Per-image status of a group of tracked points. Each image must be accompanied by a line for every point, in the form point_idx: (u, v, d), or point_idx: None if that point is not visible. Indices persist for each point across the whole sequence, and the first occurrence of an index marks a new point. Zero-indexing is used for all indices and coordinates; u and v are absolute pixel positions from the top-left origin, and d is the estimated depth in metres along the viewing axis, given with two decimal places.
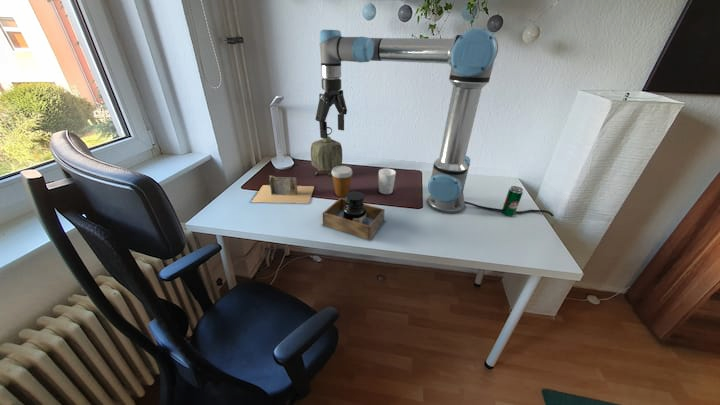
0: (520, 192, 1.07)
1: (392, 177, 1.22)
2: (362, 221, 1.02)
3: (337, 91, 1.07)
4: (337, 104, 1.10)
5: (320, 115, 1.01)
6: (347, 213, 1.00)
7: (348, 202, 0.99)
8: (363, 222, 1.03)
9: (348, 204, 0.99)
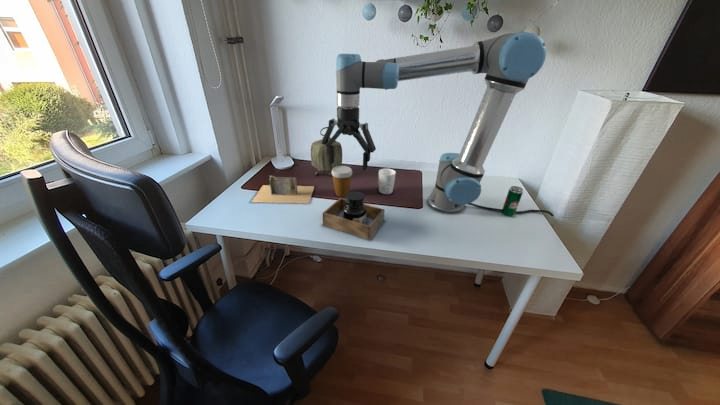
0: (520, 192, 1.07)
1: (392, 177, 1.22)
2: (362, 221, 1.02)
3: (353, 123, 0.91)
4: None
5: None
6: (347, 213, 1.00)
7: (348, 202, 0.99)
8: (363, 222, 1.03)
9: (348, 204, 0.99)
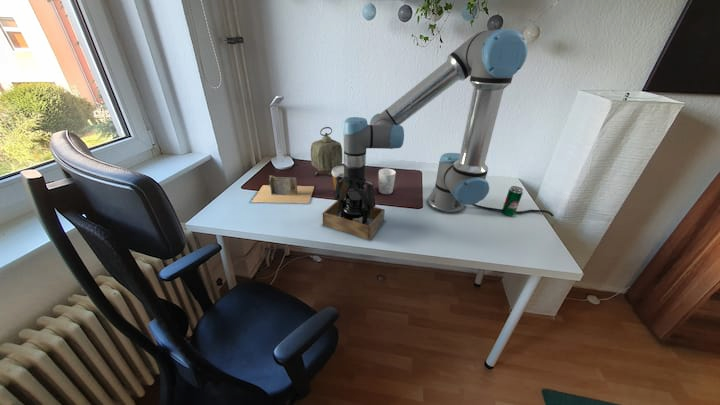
0: (520, 192, 1.07)
1: (392, 177, 1.22)
2: (362, 221, 1.02)
3: (359, 180, 0.94)
4: None
5: None
6: (347, 213, 1.00)
7: (348, 202, 0.99)
8: None
9: (348, 204, 0.99)
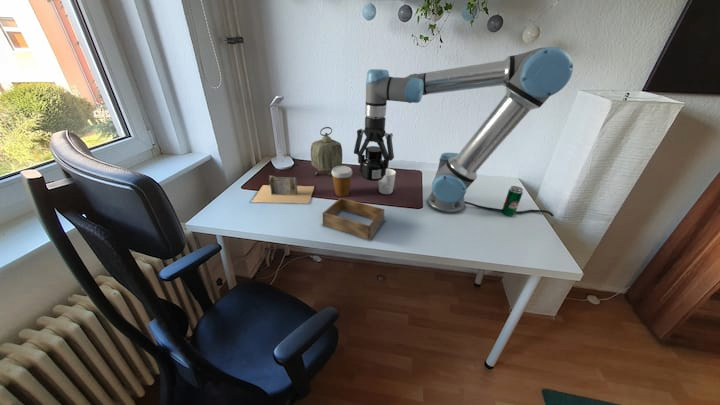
0: (520, 192, 1.07)
1: (392, 177, 1.22)
2: None
3: (379, 131, 1.00)
4: None
5: None
6: (367, 166, 1.06)
7: (368, 154, 1.04)
8: None
9: (368, 156, 1.05)
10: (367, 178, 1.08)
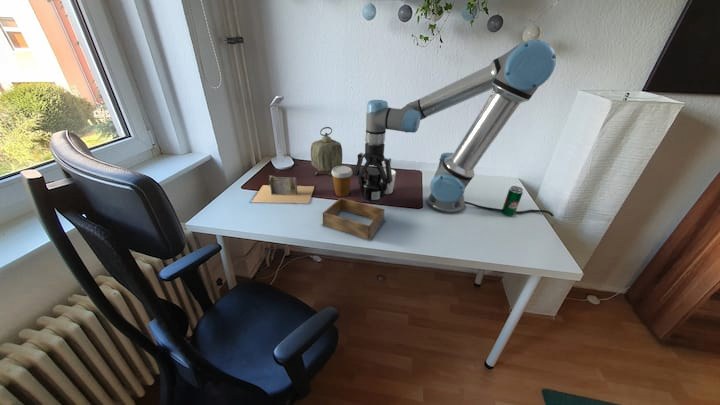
0: (520, 192, 1.07)
1: (392, 177, 1.22)
2: None
3: (379, 156, 1.06)
4: None
5: None
6: (366, 187, 1.12)
7: (368, 177, 1.10)
8: None
9: (368, 179, 1.11)
10: (367, 199, 1.14)
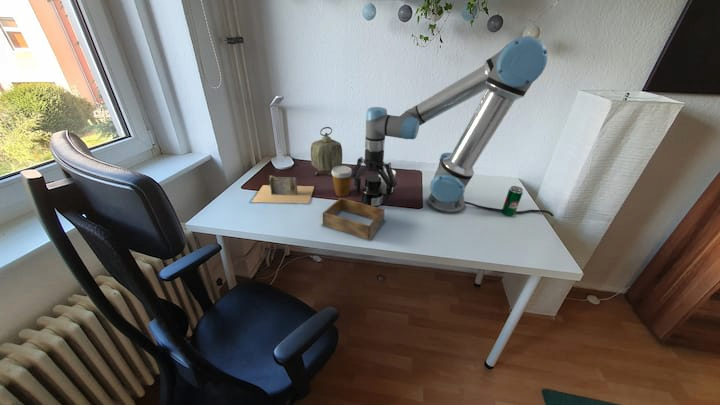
0: (520, 192, 1.07)
1: None
2: (379, 201, 1.15)
3: (378, 162, 1.07)
4: None
5: None
6: (366, 194, 1.13)
7: (367, 184, 1.12)
8: (380, 202, 1.16)
9: (367, 186, 1.12)
10: None
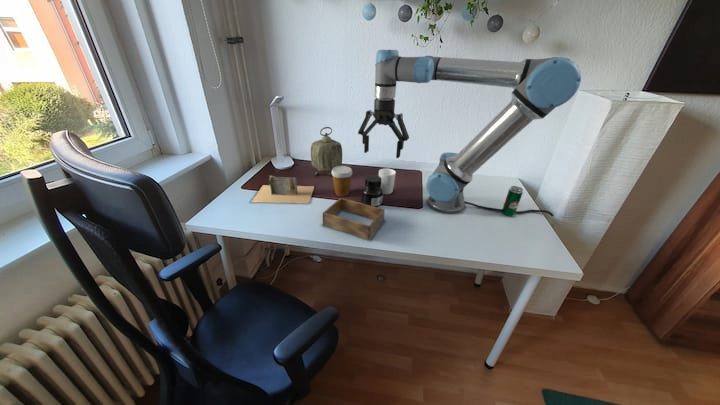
0: (520, 192, 1.07)
1: (392, 177, 1.22)
2: (379, 201, 1.15)
3: (389, 113, 0.99)
4: None
5: None
6: (366, 194, 1.13)
7: (367, 184, 1.12)
8: (380, 202, 1.16)
9: (367, 186, 1.12)
10: None
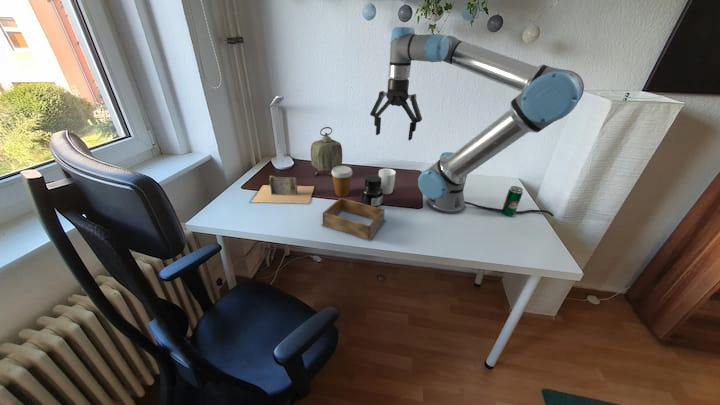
0: (520, 192, 1.07)
1: (392, 177, 1.22)
2: (379, 201, 1.15)
3: (403, 94, 0.98)
4: None
5: None
6: (366, 194, 1.13)
7: (367, 184, 1.12)
8: (380, 202, 1.16)
9: (367, 186, 1.12)
10: None
